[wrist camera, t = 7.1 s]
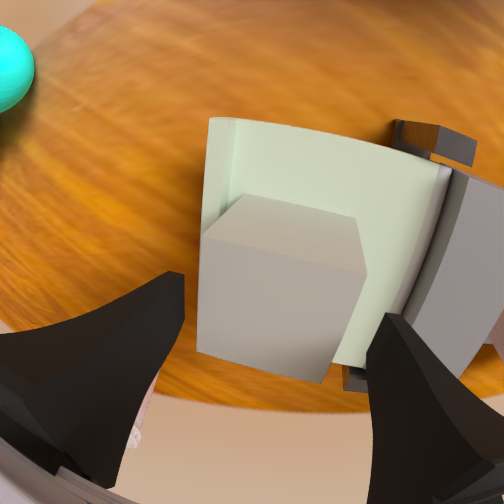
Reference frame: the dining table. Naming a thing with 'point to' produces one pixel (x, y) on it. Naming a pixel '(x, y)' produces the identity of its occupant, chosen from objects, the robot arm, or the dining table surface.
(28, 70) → the teal yo-yo
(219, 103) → the dining table surface
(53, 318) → the dining table surface
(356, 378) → the frame
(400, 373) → the robot arm
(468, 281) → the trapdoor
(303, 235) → the grey cube
